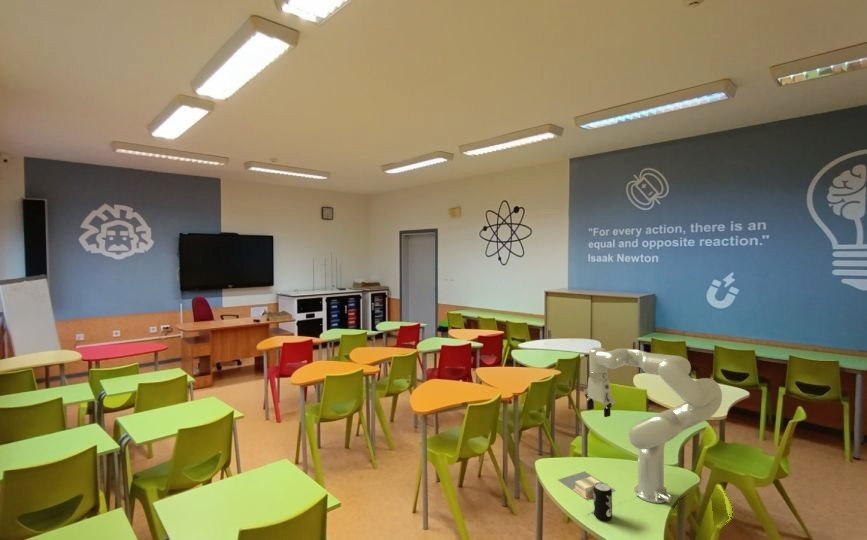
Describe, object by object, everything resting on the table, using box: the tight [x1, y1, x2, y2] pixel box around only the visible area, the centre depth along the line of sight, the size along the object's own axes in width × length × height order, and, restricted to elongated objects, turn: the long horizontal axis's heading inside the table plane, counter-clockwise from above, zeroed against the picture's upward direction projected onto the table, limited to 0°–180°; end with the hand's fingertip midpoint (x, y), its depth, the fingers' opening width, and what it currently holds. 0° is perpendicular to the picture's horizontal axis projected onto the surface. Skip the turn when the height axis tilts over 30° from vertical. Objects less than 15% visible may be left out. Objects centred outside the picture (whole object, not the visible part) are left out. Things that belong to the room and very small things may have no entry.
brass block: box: [575, 475, 601, 497], centre depth 180 cm, size 9×6×4 cm, turn 114°
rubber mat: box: [557, 471, 617, 501], centre depth 185 cm, size 18×16×1 cm
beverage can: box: [593, 481, 613, 522], centre depth 163 cm, size 7×7×12 cm
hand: (598, 412), depth 194 cm, fingers open, 9 cm apart
